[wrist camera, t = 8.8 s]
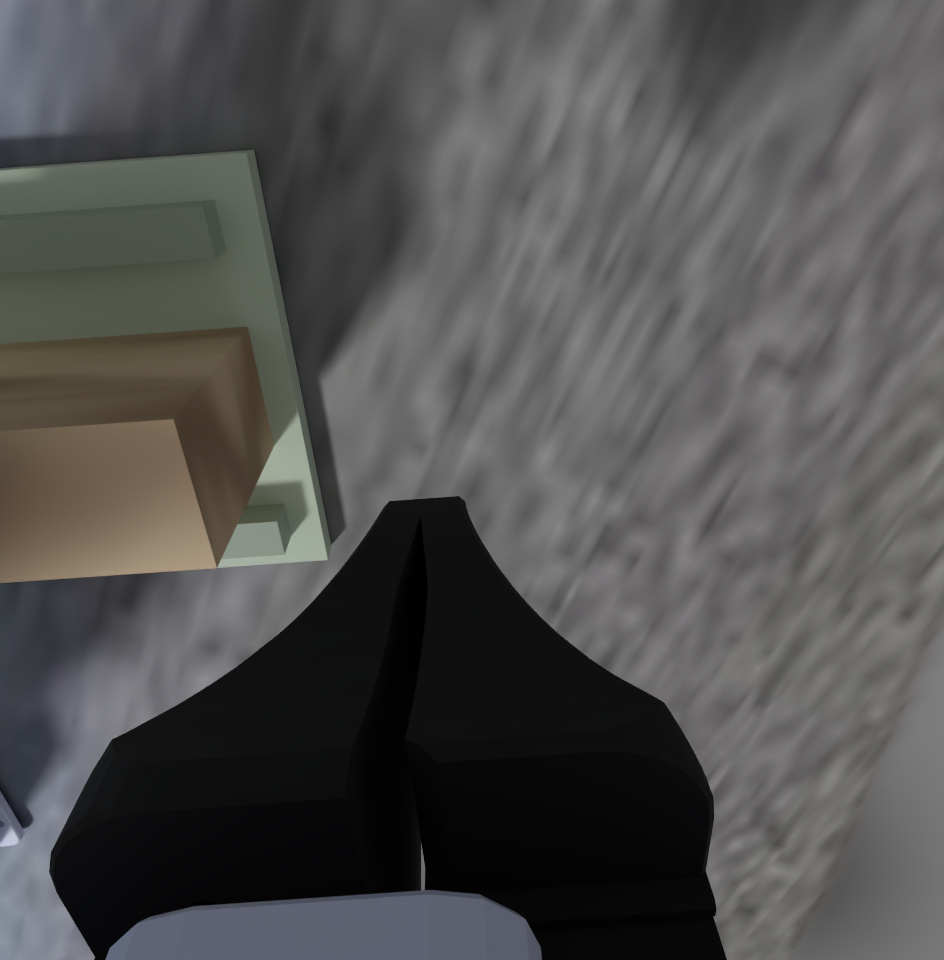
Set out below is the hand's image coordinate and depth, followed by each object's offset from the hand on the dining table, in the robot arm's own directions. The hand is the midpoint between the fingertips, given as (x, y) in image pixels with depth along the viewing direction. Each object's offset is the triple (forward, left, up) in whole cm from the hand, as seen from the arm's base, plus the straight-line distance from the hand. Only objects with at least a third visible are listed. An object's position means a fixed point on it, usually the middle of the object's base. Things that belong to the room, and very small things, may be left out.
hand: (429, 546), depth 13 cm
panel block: (0, +9, -8) cm, 12 cm away
